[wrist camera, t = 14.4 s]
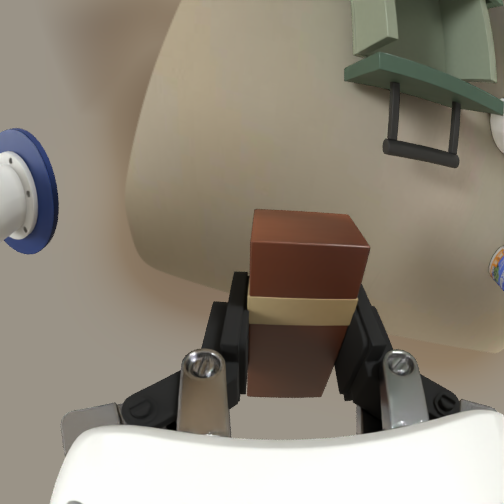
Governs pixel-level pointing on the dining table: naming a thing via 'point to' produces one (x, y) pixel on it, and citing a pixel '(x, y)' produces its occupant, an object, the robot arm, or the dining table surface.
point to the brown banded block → (300, 298)
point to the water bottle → (498, 129)
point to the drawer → (425, 61)
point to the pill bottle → (498, 267)
